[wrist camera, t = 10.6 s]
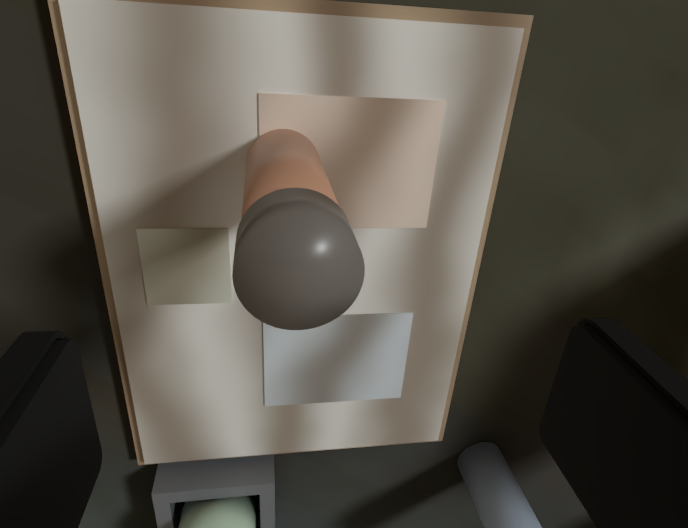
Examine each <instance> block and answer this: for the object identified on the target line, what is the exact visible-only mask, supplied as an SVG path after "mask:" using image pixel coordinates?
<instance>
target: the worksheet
mask: <svg viewBox="0 0 688 528" xmlns="http://www.w3.org/2000/svg"><path fill="white" fill-rule="evenodd" d="M48 6H49V11H50V16H51V21H52V26H53V31H54V36H55V41H56V46H57V52H58V57H59V62H60V67H61V72H62V77H63V82H64V87H65V93H66V98H67V103H68V108H69V113H70V118H71V123H72V128H73V133H74V139H75V144H76V149H77V154H78V159H79V164H80V169H81V174H82V180H83V185H84V190H85V195H86V200H87V205H88V210H89V215H90V220H91V226H92V231H93V236H94V241H95V246H96V251H97V256H98V261H99V267H100V272H101V277H102V282H103V287H104V292H105V297H106V302H107V307H108V313H109V318H110V323H111V328H112V333H113V338H114V343H115V348H116V354H117V359H118V364H119V369H120V374H121V379H122V384H123V389H124V394H125V400H126V405H127V410H128V415H129V420H130V425H131V430H132V435H133V441H134V446H135V451H136V456H137V461H138V465H147V464H159V463H172V462H184V461H197V460H209V459H221V458H234V457H246V456H259V455H271V454H283V453H296V452H308V451H321V450H333V449H345V448H358V447H370V446H383V445H395V444H407V443H420V442H432V441H442V439H443V434H444V430H445V425H446V421H447V416H448V411H449V407H450V402H451V397H452V393H453V388H454V383H455V379H456V374H457V369H458V365H459V360H460V355H461V351H462V346H463V342H464V337H465V332H466V328H467V323H468V318H469V314H470V309H471V304H472V300H473V295H474V290H475V286H476V281H477V276H478V272H479V267H480V263H481V258H482V253H483V249H484V244H485V239H486V235H487V230H488V225H489V221H490V216H491V211H492V207H493V202H494V197H495V193H496V188H497V184H498V179H499V174H500V170H501V165H502V160H503V156H504V151H505V146H506V142H507V137H508V132H509V128H510V123H511V118H512V114H513V109H514V105H515V100H516V95H517V91H518V86H519V81H520V77H521V72H522V67H523V63H524V58H525V53H526V49H527V44H528V39H529V35H530V30H531V26H532V21H533V16H534V15H521V14H507V13H493V12H480V11H466V10H452V9H439V8H425V7H411V6H397V5H384V4H370V3H356V2H343V1H329V0H48ZM275 129H290V130H294V131H297V132H299V133H301V134H303V135H304V136H306V137H307V138H308V139H309V140H310V141H311V142H312V143H313V145H314V146H315V148H316V150H317V152H318V155H319V157H320V160H321V162H322V165H323V167H324V170H325V172H326V175H327V177H328V180H329V182H330V185H331V187H332V190H333V192H334V195H335V197H336V200H337V202H338V205H339V207H340V208H341V209H342V210H343V212H344V213H345V215H346V217H347V219H348V221H349V223H350V226H351V228H352V230H353V233H354V235H355V238H356V240H357V243H358V245H359V247H360V250H361V252H362V255H363V259H364V266H365V275H364V281H363V285H362V288H361V290H360V293H359V295H358V297H357V298H356V300H355V301H354V303H353V304H352V305H351V306H350V307H349V309H348V310H346V311H345V312H344V313H343V314H342V315H341V316H339V317H338V318H336V319H335V320H333V321H331V322H329V323H327V324H325V325H322V326H319V327H316V328H312V329H307V330H285V329H280V328H276V327H273V326H270V325H267V324H265V323H263V322H261V321H260V320H258V319H257V318H255V317H254V316H252V315H251V314H250V313H249V312H248V311H247V310H246V309H245V308H244V306H243V305H242V304H241V302H240V300H239V299H238V297H237V294H236V292H235V289H234V285H233V278H232V274H233V261H234V252H235V242H236V234H237V229H238V226H239V223H240V221H241V217H242V206H243V195H244V184H245V173H246V162H247V156H248V152H249V150H250V148H251V146H252V145H253V143H254V142H255V141H256V140H257V139H258V138H259V137H260V136H261V135H263V134H264V133H266V132H269V131H272V130H275Z"/></svg>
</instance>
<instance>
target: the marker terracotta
mask: <svg viewBox="0 0 688 528" xmlns="http://www.w3.org/2000/svg"><path fill="white" fill-rule="evenodd" d="M364 275H365V266H364V259H363V255H362V252H361V250H360V247H359V245H358V243H357V240H356V238H355V235H354V233H353V230H352V228H351V226H350V223H349V221H348V219H347V217H346V215H345V213H344V212H343V210H342V209H341V208H340V207H339V205H338V202H337V200H336V197H335V195H334V192H333V190H332V187H331V185H330V182H329V180H328V177H327V175H326V172H325V170H324V167H323V165H322V162H321V160H320V157H319V155H318V152H317V150H316V148H315V146H314V145H313V143H312V142H311V141H310V140H309V139H308V138H307V137H306V136H304V135H303V134H301V133H299V132H297V131H294V130H290V129H275V130H272V131H269V132H266V133H264V134H263V135H261V136H260V137H259V138H258V139H257V140H256V141H255V142H254V143H253V145H252V146H251V148H250V150H249V152H248V156H247V162H246V173H245V184H244V195H243V206H242V217H241V221H240V223H239V226H238V229H237V234H236V242H235V252H234V261H233V274H232V278H233V285H234V289H235V292H236V294H237V297H238V299H239V300H240V302H241V304H242V305H243V306H244V308H245V309H246V310H247V311H248V312H249V313H250V314H251V315H252V316H254V317H255V318H257V319H258V320H260V321H261V322H263V323H265V324H267V325H270V326H273V327H276V328H280V329H285V330H307V329H312V328H316V327H319V326H322V325H325V324H327V323H329V322H331V321H333V320H335V319H336V318H338V317H339V316H341V315H342V314H343V313H344V312H345V311H346V310H348V309H349V307H350V306H351V305H352V304H353V303H354V301H355V300H356V298H357V297H358V295H359V293H360V290H361V288H362V285H363V281H364Z"/></svg>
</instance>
